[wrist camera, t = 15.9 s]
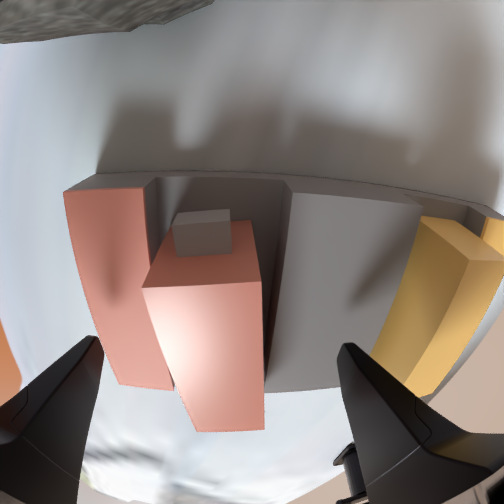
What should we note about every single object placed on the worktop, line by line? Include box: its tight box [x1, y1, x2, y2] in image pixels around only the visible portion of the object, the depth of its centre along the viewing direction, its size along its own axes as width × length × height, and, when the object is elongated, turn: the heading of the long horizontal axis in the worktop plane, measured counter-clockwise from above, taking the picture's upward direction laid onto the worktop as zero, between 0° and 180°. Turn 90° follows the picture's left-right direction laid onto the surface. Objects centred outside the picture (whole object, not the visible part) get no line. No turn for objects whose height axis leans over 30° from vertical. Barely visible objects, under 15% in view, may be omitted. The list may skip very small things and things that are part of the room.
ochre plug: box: [369, 216, 504, 398], centre depth 11 cm, size 9×3×4 cm, turn 176°
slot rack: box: [63, 171, 504, 393], centre depth 12 cm, size 10×20×3 cm, turn 86°
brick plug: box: [141, 209, 264, 432], centre depth 10 cm, size 9×3×4 cm, turn 2°
